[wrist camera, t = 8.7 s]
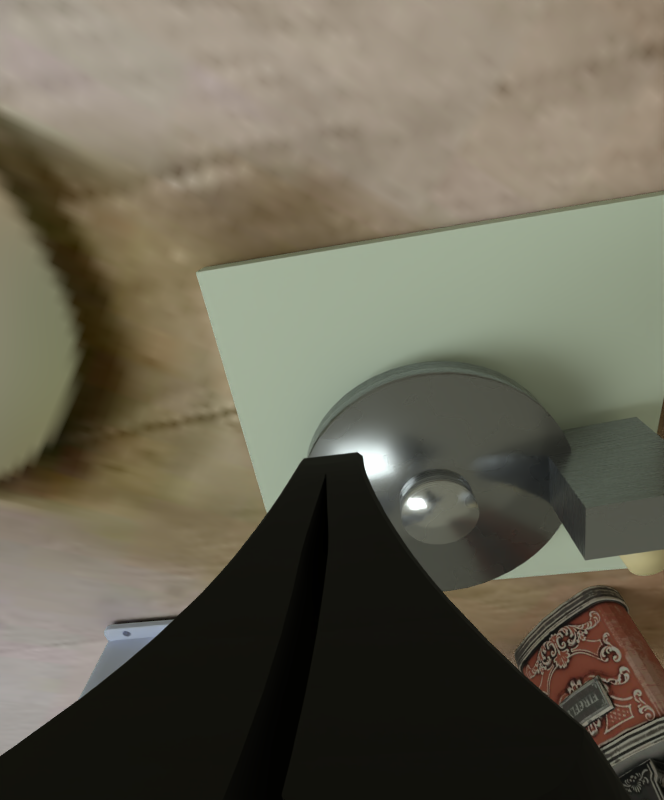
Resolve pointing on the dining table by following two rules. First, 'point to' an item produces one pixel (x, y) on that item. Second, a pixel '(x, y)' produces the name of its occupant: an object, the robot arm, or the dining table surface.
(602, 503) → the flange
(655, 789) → the lighter
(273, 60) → the dining table surface
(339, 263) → the board
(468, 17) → the dining table surface
